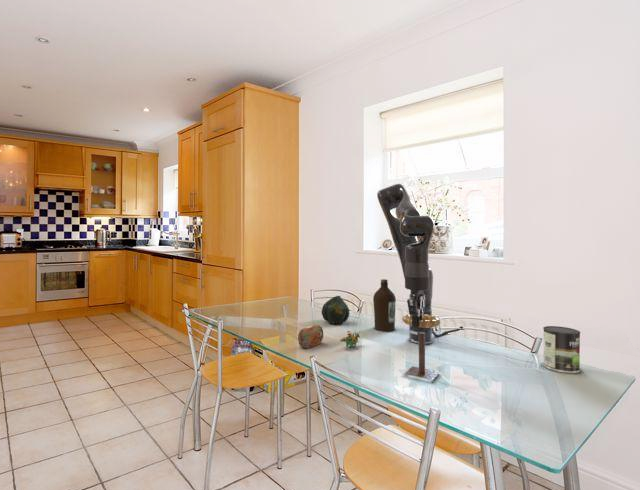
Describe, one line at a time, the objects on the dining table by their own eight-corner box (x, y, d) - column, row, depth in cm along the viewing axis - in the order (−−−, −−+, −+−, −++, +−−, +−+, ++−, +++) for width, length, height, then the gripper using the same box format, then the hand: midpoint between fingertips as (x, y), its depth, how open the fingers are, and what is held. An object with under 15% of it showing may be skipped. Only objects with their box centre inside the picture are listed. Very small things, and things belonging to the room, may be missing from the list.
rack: (412, 369, 142) (412, 328, 142) (439, 375, 137) (439, 332, 136) (404, 377, 136) (404, 333, 135) (432, 383, 130) (432, 338, 129)
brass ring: (408, 318, 144) (408, 311, 144) (444, 323, 136) (444, 316, 136) (397, 324, 135) (397, 317, 135) (434, 330, 127) (434, 322, 127)
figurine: (362, 348, 168) (362, 329, 167) (342, 353, 161) (342, 333, 161) (357, 346, 170) (356, 327, 170) (336, 351, 164) (336, 331, 164)
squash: (317, 315, 207) (336, 294, 205) (316, 310, 221) (334, 290, 220) (338, 333, 205) (357, 312, 203) (335, 327, 219) (354, 307, 218)
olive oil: (369, 329, 197) (369, 279, 197) (379, 325, 205) (379, 277, 204) (390, 333, 190) (389, 281, 189) (399, 328, 197) (399, 279, 197)
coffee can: (585, 370, 139) (585, 330, 139) (571, 375, 134) (571, 334, 134) (551, 361, 148) (552, 324, 148) (537, 366, 143) (537, 328, 143)
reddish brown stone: (302, 350, 166) (302, 330, 166) (296, 348, 169) (296, 329, 168) (324, 342, 176) (323, 324, 176) (318, 341, 179) (318, 322, 178)
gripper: (411, 272, 140) (411, 320, 140) (398, 276, 129) (398, 328, 129) (434, 273, 135) (434, 323, 135) (422, 278, 124) (423, 332, 124)
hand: (417, 325), depth 132 cm, fingers closed on brass ring, 2 cm apart
